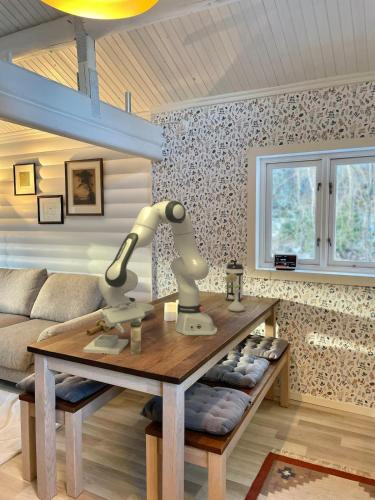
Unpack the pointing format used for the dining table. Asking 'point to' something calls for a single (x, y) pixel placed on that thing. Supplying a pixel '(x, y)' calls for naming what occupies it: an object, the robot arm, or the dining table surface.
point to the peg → (135, 338)
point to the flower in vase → (235, 305)
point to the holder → (106, 345)
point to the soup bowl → (146, 308)
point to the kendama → (98, 327)
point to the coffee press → (238, 271)
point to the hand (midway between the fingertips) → (132, 330)
